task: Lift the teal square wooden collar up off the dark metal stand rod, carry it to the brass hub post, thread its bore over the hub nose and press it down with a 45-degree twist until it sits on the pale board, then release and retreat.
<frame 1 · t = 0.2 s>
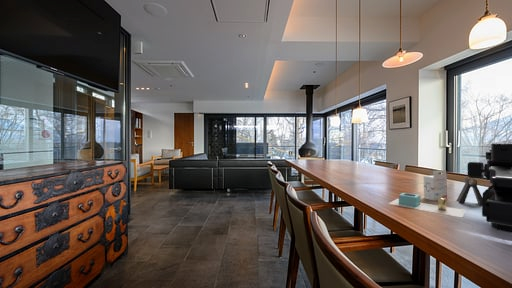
hand: (502, 170, 85), 17 cm above the table, tool horizontal, fingers open, 9 cm apart
phone stand: (470, 205, 96), on the table
collar: (409, 204, 95), point 1 cm above the table, touching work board
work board: (425, 209, 91), on the table
hub: (442, 209, 87), resting on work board
ink cartridge box: (435, 200, 103), on the table
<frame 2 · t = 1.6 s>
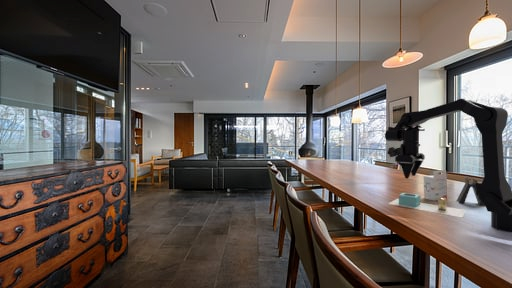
hand: (410, 177, 95), 13 cm above the table, tool pointing down, fingers open, 9 cm apart
nothing on the table moved.
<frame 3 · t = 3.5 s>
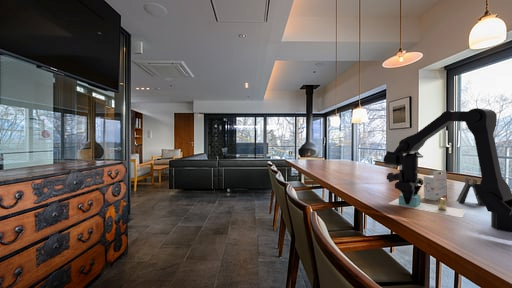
hand: (409, 202, 95), 2 cm above the table, tool pointing down, fingers closed on collar, 6 cm apart
collar: (409, 204, 95), point 1 cm above the table, touching gripper, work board
everything else where it was.
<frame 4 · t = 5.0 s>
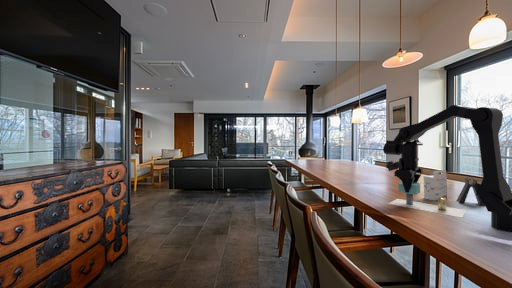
hand: (409, 191, 95), 7 cm above the table, tool pointing down, fingers closed on collar, 6 cm apart
collar: (409, 192, 95), point 6 cm above the table, touching gripper
everything else where it was.
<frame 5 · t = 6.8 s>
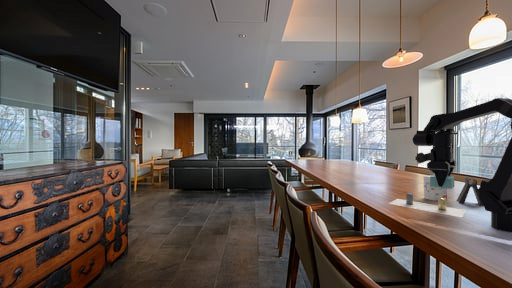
hand: (442, 185, 87), 11 cm above the table, tool pointing down, fingers closed on collar, 6 cm apart
collar: (442, 186, 87), point 10 cm above the table, touching gripper
everything else where it was.
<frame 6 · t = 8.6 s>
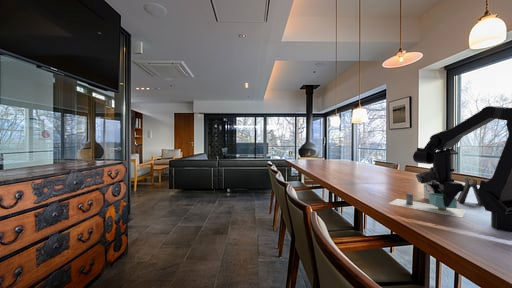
hand: (442, 204, 87), 3 cm above the table, tool pointing down, fingers closed on collar, 6 cm apart
collar: (442, 205, 87), point 3 cm above the table, touching gripper
everything else where it was.
when the fingers open (2 cm above the table, at t = 10.0 s): collar stays where it is, resting on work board.
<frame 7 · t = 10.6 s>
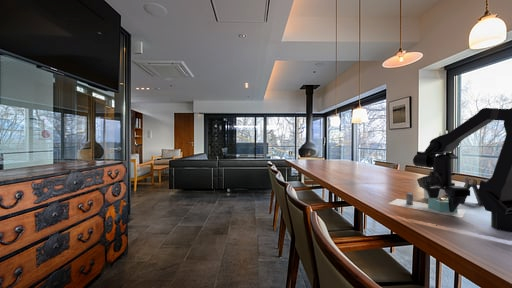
hand: (442, 208, 87), 2 cm above the table, tool pointing down, fingers open, 9 cm apart
collar: (442, 209, 87), point 1 cm above the table, touching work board
everything else where it was.
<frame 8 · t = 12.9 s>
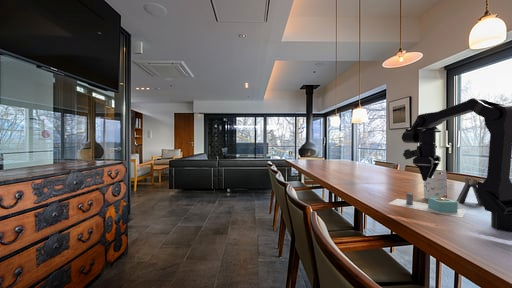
hand: (427, 179, 93), 12 cm above the table, tool pointing down, fingers open, 9 cm apart
nothing on the table moved.
at the end: collar 0.0 cm off-centre on the hub, point 0.0 cm above the hub's base; collar tilted 0°; the gripper is holding nothing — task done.
